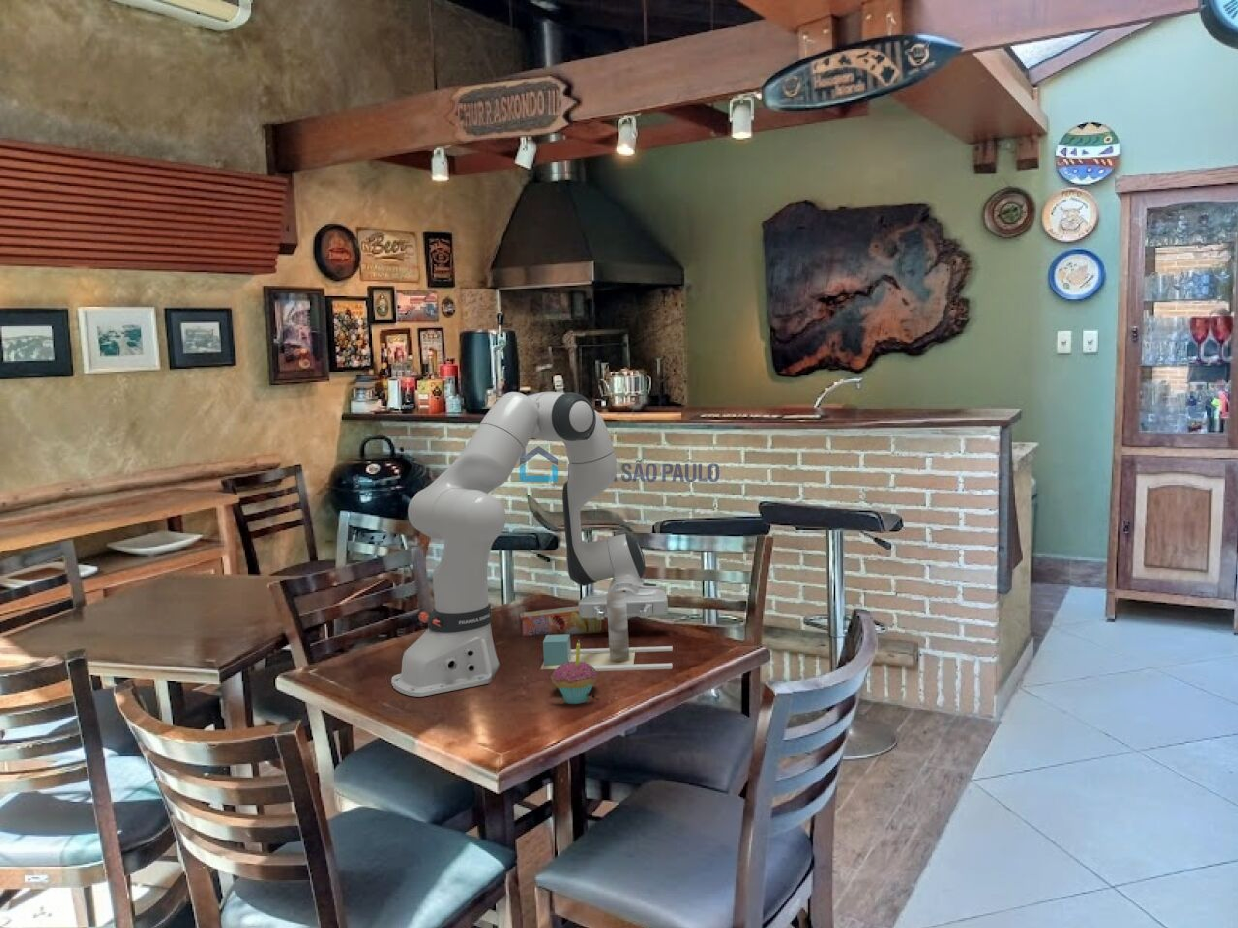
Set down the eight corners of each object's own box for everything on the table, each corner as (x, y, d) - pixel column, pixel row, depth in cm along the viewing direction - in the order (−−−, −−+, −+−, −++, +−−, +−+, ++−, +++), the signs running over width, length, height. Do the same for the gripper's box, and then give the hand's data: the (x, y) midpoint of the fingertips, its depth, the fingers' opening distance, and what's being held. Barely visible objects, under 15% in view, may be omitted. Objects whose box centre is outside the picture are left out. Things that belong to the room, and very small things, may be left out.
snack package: (521, 643, 210) (519, 615, 209) (519, 635, 216) (517, 607, 216) (612, 634, 213) (610, 606, 212) (607, 626, 220) (606, 599, 219)
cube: (571, 657, 192) (569, 634, 192) (568, 665, 187) (566, 641, 187) (547, 658, 193) (546, 635, 192) (544, 665, 188) (542, 642, 187)
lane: (673, 655, 195) (672, 645, 195) (672, 675, 182) (672, 665, 182) (566, 658, 196) (566, 649, 196) (558, 678, 184) (558, 669, 183)
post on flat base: (635, 657, 193) (631, 587, 192) (633, 671, 184) (629, 598, 183) (546, 660, 195) (542, 591, 193) (540, 674, 186) (536, 602, 184)
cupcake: (607, 697, 172) (603, 635, 170) (574, 711, 166) (570, 647, 164) (576, 688, 178) (573, 628, 176) (543, 701, 172) (539, 639, 170)
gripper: (580, 587, 212) (573, 602, 199) (667, 584, 211) (667, 599, 197) (581, 613, 213) (575, 631, 199) (669, 610, 212) (668, 627, 198)
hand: (621, 615), depth 198 cm, fingers open, 8 cm apart
